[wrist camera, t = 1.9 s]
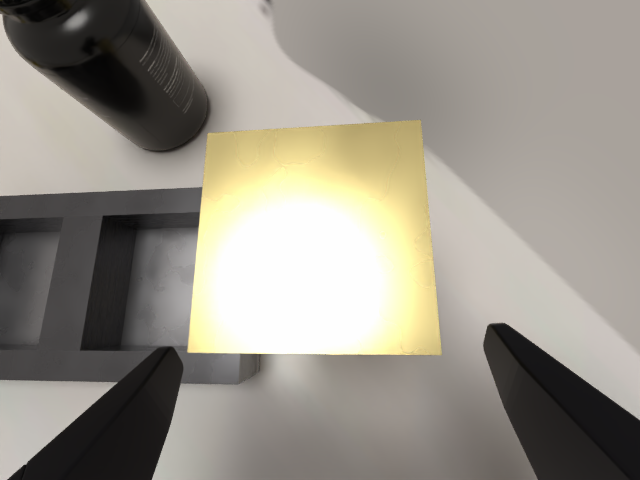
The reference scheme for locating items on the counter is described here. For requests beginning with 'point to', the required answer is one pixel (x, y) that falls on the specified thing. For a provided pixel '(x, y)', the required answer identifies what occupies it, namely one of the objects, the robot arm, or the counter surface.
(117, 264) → the compartment tray
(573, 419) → the robot arm
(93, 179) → the counter surface
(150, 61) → the supplement bottle
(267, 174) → the brass block
